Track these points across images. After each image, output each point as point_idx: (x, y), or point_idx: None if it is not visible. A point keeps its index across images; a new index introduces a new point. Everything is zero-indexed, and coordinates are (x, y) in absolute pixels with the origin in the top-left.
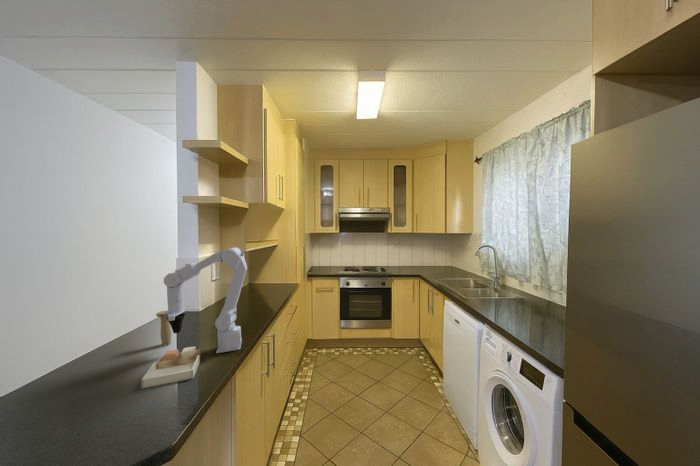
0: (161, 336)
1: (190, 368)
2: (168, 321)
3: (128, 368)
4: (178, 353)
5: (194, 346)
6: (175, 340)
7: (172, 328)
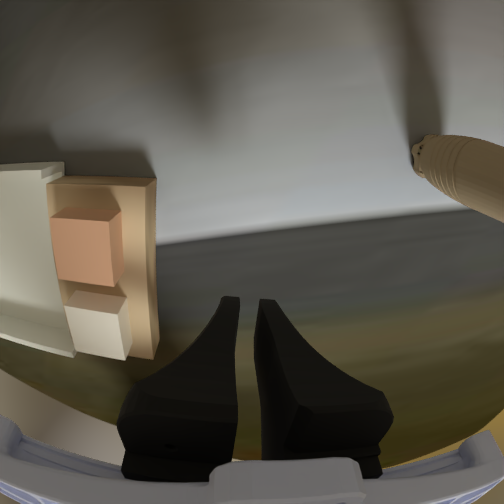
0: (453, 141)
1: (36, 308)
2: (146, 379)
3: (160, 12)
4: (123, 272)
5: (122, 357)
6: (453, 200)
7: (208, 325)
